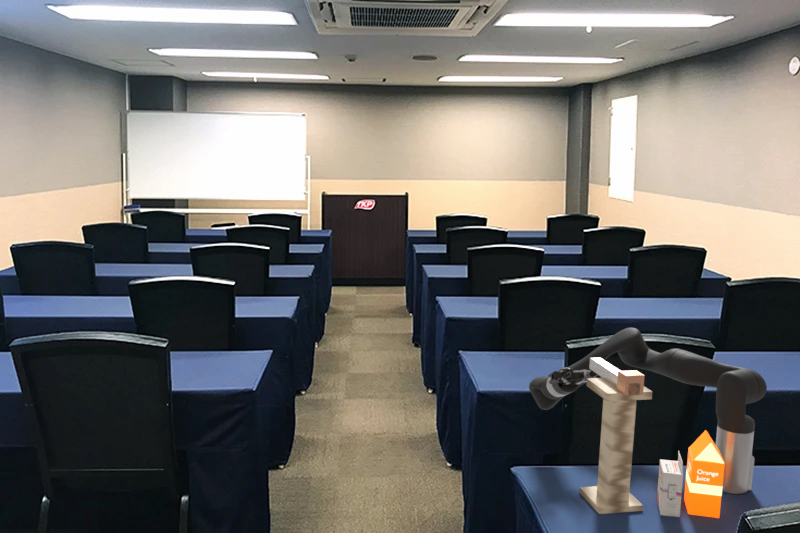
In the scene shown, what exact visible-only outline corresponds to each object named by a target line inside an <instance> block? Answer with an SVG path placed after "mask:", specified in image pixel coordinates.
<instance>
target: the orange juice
mask: <svg viewBox="0 0 800 533" xmlns="http://www.w3.org/2000/svg"><path fill="white" fill-rule="evenodd" d="M687 449H688V451H687V462H686V470H685V482H684V483H685V484H684V494H683V502H684V503H685V508H686V512H687V514H688V515H691V516H697V517H698V516H699V517H700V516H701V517H707V518H715V519H720V515H721V505H722V504H721V503H722V496H723V491H722V488H723V476H724V466H725V463H724V461H723V458H722V456H721V454H720V451H719V450H718V448H717V446H716V442H715V441H714V440H713V438H712V437H711V436H710V433H709V431H707V430H706V429H705V430H704V431H703V432H702V433H701V434H700V435H699V436H698V437H697V438H696V439H695V441H694V442H693V443H692V444H691V445H690V446H689V447H688V448H687Z"/></svg>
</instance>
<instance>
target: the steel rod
mask: <svg viewBox="0 0 800 533" xmlns="http://www.w3.org/2000/svg"><path fill="white" fill-rule="evenodd" d="M589 368H590V369H591V370H592V371H594V372H595V373H597V374H598V375H600V376H601V378H604V379H605V380H607V381H608V382H610V383H611V384H613V385H614V386H615V387H617V391H619V392H620V393H621V394H623V395H624V396H625V395H643V389H644V386H645V374H643V373H642V372H640V371H638V370H637V369H636V370H635V369H634V370H632V369H631V370H630V369H629V370H621V369H619V367H616V366H614V365H613V364H611V363H610V362H608V361H606V360H604V359H602V358H600V357H597V358H590V365H589Z"/></svg>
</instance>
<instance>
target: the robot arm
mask: <svg viewBox="0 0 800 533" xmlns="http://www.w3.org/2000/svg"><path fill="white" fill-rule="evenodd" d="M615 353H617V354H618V356H619V358H620V360H621V361H622V362H623V363H624V364H625V365H627V366H629V367H633V368H637V369H641V370H645V371H650V372H653V373H656V374H659V375H662V376H664V377H667V378H670V379H672V380H674V381H677V382H680V383H681V384H682V383H683V384H687V385H691V386H698V387H707V388H709V387H710V388H716V394H715V415H716V419H717V426H716V437H715V445H716V446H717V448H718V450H719V451H720V454H721V456H722V458H723V461H724V463H725V466H724V476H723V488H722V492H724V493H727V494H733V495H739V494H740V495H741V494H745V493H747V492H748V491H752V486H753V477H754V469H755V468H754V466H755V457H754V456H753V446H754V438H755V437H754V436H755V427H756V421H755V419H754V418H752V417H751V416H750V415H747V414H746V409H747V408H746V406H747V405H748V404H753V403H756V402H758V401H760V400H762V399H763V398H764V397H765V395H766V394H767V390H768V388H767V387H768V386H767V383H766V381H765V379H764V378H763V376H762V375H761V374H760V373H758V372H757V371H755V370H754V369H751V368H748V367H747V368H746V367H740V366H735V365H729V364H726V363H722V362H719V361H716V360H715V359H711V358H709V357H706V356H703V355H699V354H697V353H694V352H692V351H688V350H685V349H681V348H670V349H668V350H665V351H662V352H658V351H656V350H653V349H651V348H650V347H649V346H648V345H647V343H646V340H645V338H644V337H643V335H642V333H641V331H640V330H639V329H638V328H636V327H626V328H624V329H622V330H620V331H618V332H616V333H615V334H613V335H612V336H611V337H610V338H607V339H606V340H605V341H604V342H602V343H601V344H600V345H599V346H597V347H596V348H595V349H594V350H593V351H591V352H590V353H589V354H587V355H586V356H584V357H583V358H582V359H579V360H578V361H576V362H574V363H573V364H571V365H569V366H567V367H562V368H560V369H558V370H554V371H553V372H551V373H550V374H548V375H547V376H537V377H535V378H533V379H532V380H531V381H530V383H529V385H528V389H529V391H530V393H531V395H532V397H533V399H534V401H535V403H536V404H537V406H538V408H539V409H540V410H543V411H548V410H551V409H552V408H554V407H555V406H556V405H557V404H558V403H559V402H560V401H561V400H562V399H563V398H564V397H565V396H567V395H570V394H571V393H574V392H576V391H577V390H578V388H579V387H581V386H583V385H584V384H587V378H602V377H601V376H600V375H598V374H597V373H595V372H594V371H592V370H591V369H590V368H589V365H590V358H597V357H600V358H602V359H604V360H605V361H606V360H607V359H608V358H610V356H612V355H614V354H615Z"/></svg>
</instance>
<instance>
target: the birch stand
mask: <svg viewBox="0 0 800 533" xmlns="http://www.w3.org/2000/svg"><path fill="white" fill-rule="evenodd" d="M586 387H588V388H589V389H590V390H591V391H593V393H595V394H597V395H598V396H600V397H601V398H602V412H601V426H600V427H601V428H600V429H601V430H600V441H599V442H600V444H599V457H598V470H597V484H596V485H594V486H580V487H579V490H578V491H579V494H580V495H581V496H582V497H583V498H584V499H585V501H586V502H587V503H588V504H590V506H591V507H592V508H593V509H594V511H596V513H598V514H599V515H607V514H609V515H610V514H616V513H617V514H618V513H619V514H620V513H630V512H632V513H633V512H643V511H644V505H643V503H641V502H640V501H639V500H638V499H637V498H636V497H635V496H634V495H633V494H632V493H631V492H630V491H631V488H630V487H631V477H632V476H631V475H632V464H633V463H632V462H633V454H634V453H633V452H634V451H633V450H634V441H635V440H634V439H635V426H636V413H637V412H636V411H637V401H642V400H645V401H646V400H653V390H651V389H649V388H648V387H646V386H645V385H644V389H643V395H625V396H624V395H623V394H621V393H620V392H619V391H617V387H615V386H614V385H613V384H611V383H610V382H608V381H607V380H605V379H604V378H602V377H601V378H587V382H586Z"/></svg>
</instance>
